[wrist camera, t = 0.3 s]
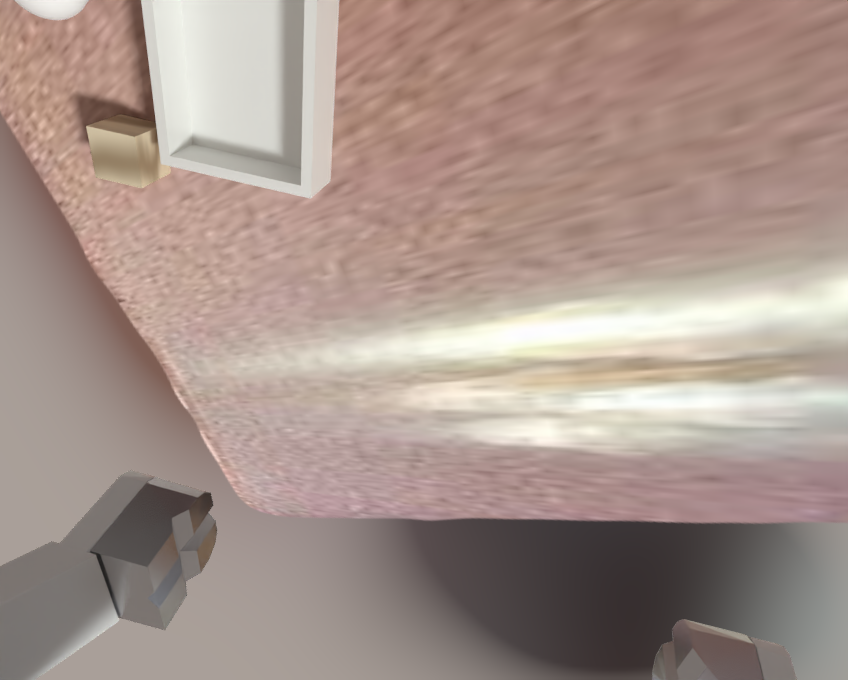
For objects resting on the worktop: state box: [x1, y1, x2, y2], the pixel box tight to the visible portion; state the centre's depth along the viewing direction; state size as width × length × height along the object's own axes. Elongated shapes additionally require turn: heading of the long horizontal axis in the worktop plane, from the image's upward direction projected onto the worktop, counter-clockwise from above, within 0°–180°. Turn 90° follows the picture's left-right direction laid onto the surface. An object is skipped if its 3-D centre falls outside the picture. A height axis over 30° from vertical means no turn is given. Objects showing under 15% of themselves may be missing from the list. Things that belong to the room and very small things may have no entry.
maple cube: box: [86, 114, 171, 188], centre depth 58 cm, size 5×5×5 cm
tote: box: [141, 0, 339, 198], centre depth 51 cm, size 19×15×5 cm
